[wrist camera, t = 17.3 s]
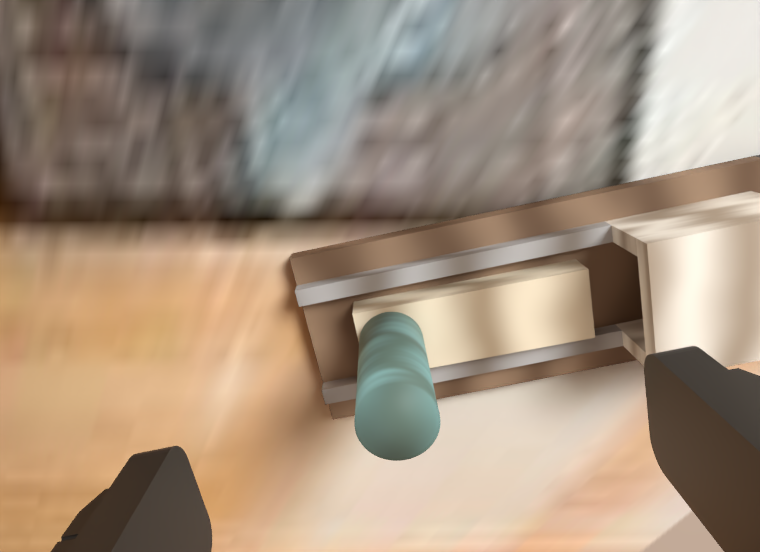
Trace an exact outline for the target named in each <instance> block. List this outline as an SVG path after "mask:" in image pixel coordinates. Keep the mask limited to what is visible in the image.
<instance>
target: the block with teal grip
mask: <svg viewBox="0 0 760 552" xmlns="http://www.w3.org/2000/svg"><path fill="white" fill-rule="evenodd" d="M352 315H353V319H354V324H355V328H356V333H357V337H358V341H359V354H358V371H357V388H356V406H355V431H356V434H357V437H358V439H359V441H360V442H361V444H362V445H363V446H364V447H365V448H366V449H367V450H368V451H369V452H371V453H372V454H374V455H376V456H378V457H380V458H383V459H387V460H406V459H411V458H413V457H416V456H418V455H420V454H422V453H423V452H425V451H426V450H427V449H428V448H429V447H430V446H431V445H432V444H433V442H434V441H435V439H436V437H437V436H438V433H439V429H440V415H439V410H438V405H437V401H436V396H435V391H434V386H433V382H432V377H431V372H430V368H434V367H439V366H444V365H450V364H455V363H461V362H466V361H472V360H477V359H482V358H488V357H493V356H499V355H504V354H509V353H515V352H520V351H526V350H531V349H536V348H542V347H547V346H553V345H558V344H563V343H569V342H574V341H580V340H585V339H590V338H595V330H594V320H593V310H592V299H591V289H590V279H589V269H588V268H586V267H585V266H584V265H583V264H581V263H580V262H579V261H578V260H576V259H575V260H569V261H564V262H559V263H554V264H548V265H543V266H538V267H533V268H528V269H522V270H517V271H512V272H507V273H502V274H496V275H491V276H486V277H481V278H475V279H470V280H465V281H460V282H455V283H449V284H444V285H439V286H434V287H428V288H423V289H418V290H413V291H408V292H402V293H397V294H392V295H387V296H381V297H376V298H371V299H366V300H361V301H355V302H353V313H352Z"/></svg>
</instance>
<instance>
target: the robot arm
mask: <svg viewBox="0 0 760 552" xmlns="http://www.w3.org/2000/svg"><path fill="white" fill-rule="evenodd" d="M644 374H645V386H646V397H647V408H648V420H649V431H650V439H651V444H652V448H653V451H654V454H655V457H656V459H657V462H658V464H659V466H660V468H661V470H662V471H663V473H664V474H665V476H666V477H667V479H668V480H669V481H670V482H671V484H672V485H673V486H674V488H675V489H676V490H677V491H678V493H679V494H680V495H681V497H682V498H683V499H684V500H685V502H686V503H687V504H688V506H689V507H690V508H691V509H692V511H693V512H694V513H695V515H696V516H697V517H698V518H699V520H700V521H701V522H702V524H703V525H704V526H705V527H706V529H707V530H708V531H709V533H710V534H711V535H712V536H713V538H714V539H715V540H716V542H717V543H718V544H719V546H720V547H721V548H722V549H723V551H724V552H760V376H758V375H755V374H752V373H750V372H747V371H744V370H741V369H739V368H737V369H732V370H728V369H727V368H725V367H724V366H723V365H721V364H720V363H719V362H717V361H716V360H715V359H713V358H712V357H711V356H710V355H708V354H707V353H706V352H704V351H703V350H702V349H700V348H699V347H697V346H689V347H684V348H679V349H674V350H669V351H664V352H658V353H653V354H649V355H647V356H646V358H645V362H644ZM61 538H62V541H61V542H57V544H56V545H55V547H54V548H53V549H52V551H51V552H211V548H212V529H211V523H210V519H209V516H208V513H207V510H206V508H205V505H204V502H203V499H202V496H201V494H200V491H199V488H198V485H197V482H196V480H195V477H194V474H193V471H192V469H191V466H190V463H189V460H188V458H187V455H186V453H185V452H184V450H183V449H182V448H181V447H179V446H173V447H168V448H163V449H158V450H152V451H147V452H142V453H137V454H134V455H133V456H131V457H130V459H129V460H128V461H127V463H126V464H125V466H124V467H123V469H122V470H121V472H120V473H119V475H118V476H117V478H116V479H115V481H114V482H113V484H112V485H111V487H110V488H109V489H105V490H104V491H103V492H102V493H101V494H99V495H98V496H97V497H96V498H95V499H94V500H93V501H91V502H90V503H89V504H88V505H87V506H86V507H84V508H83V509H82V510H81V511H80V512H79V513H78V514H77V516H76V517H75V519H74V520H73V521H72V523H71V524H70V526H69V527H68V528H67V530H66V531H65V533H64V534H63V535H62V537H61Z"/></svg>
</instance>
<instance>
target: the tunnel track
mask: <svg viewBox="0 0 760 552" xmlns="http://www.w3.org/2000/svg"><path fill="white" fill-rule="evenodd" d="M575 259H576V260H578V261H579V262H580V263H581V264H583V265H584V266H585V267H586V268H588V269H589V279H590V289H591V299H592V310H593V320H594V330H595V338H590V339H585V340H580V341H574V342H569V343H563V344H558V345H553V346H547V347H542V348H536V349H531V350H526V351H520V352H515V353H509V354H504V355H499V356H493V357H488V358H482V359H477V360H472V361H466V362H461V363H455V364H450V365H444V366H439V367H434V368H430V372H431V377H432V382H433V386H434V391H435V396H436V399H440V398H445V397H450V396H455V395H460V394H466V393H471V392H476V391H481V390H486V389H491V388H496V387H501V386H506V385H512V384H517V383H522V382H527V381H532V380H537V379H542V378H547V377H552V376H557V375H563V374H568V373H573V372H578V371H583V370H588V369H593V368H598V367H603V366H609V365H614V364H619V363H624V362H629V361H634V360H638V361H639V362H640V363H641V364H642V365H643V366H644V362H645V358H646V356H647V355H649V354H653V353H658V352H664V351H669V350H674V349H679V348H684V347H689V346H697V347H699V348H700V349H702V350H703V351H704V352H706V353H707V354H708V355H710V356H711V357H712V358H713V359H715V360H716V361H717V362H719V363H720V364H721V365H723V366H724V367H728V366H734V365H739V364H744V363H749V362H754V361H759V360H760V155H757V156H752V157H747V158H743V159H738V160H733V161H728V162H724V163H719V164H714V165H709V166H705V167H700V168H695V169H690V170H686V171H681V172H676V173H672V174H667V175H662V176H657V177H653V178H648V179H643V180H638V181H634V182H629V183H624V184H620V185H615V186H610V187H605V188H601V189H596V190H591V191H586V192H582V193H577V194H572V195H567V196H563V197H558V198H553V199H549V200H544V201H539V202H534V203H530V204H525V205H520V206H515V207H511V208H506V209H501V210H496V211H492V212H487V213H482V214H478V215H473V216H468V217H463V218H459V219H454V220H449V221H444V222H440V223H435V224H430V225H425V226H421V227H416V228H411V229H407V230H402V231H397V232H392V233H388V234H383V235H378V236H373V237H369V238H364V239H359V240H354V241H350V242H345V243H340V244H336V245H331V246H326V247H321V248H317V249H312V250H307V251H302V252H298V253H293V254H292V256H291V257H290V262H291V266H292V269H293V273H294V277H295V281H296V284H297V286H296V289H295V294H296V298H297V301H298V305H299V307H301V306H302V307H303V310H304V314H305V318H306V322H307V325H308V329H309V333H310V336H311V340H312V344H313V348H314V351H315V355H316V359H317V362H318V366H319V370H320V374H321V377H322V381H323V385H322V394H323V397H324V401H325V405H326V404H329V407H330V411H331V415H332V418H333V419H338V418H343V417H348V416H353V415H355V406H356V388H357V371H358V354H359V341H358V337H357V333H356V328H355V324H354V319H353V315H352V313H353V302H355V301H361V300H366V299H371V298H376V297H381V296H387V295H392V294H397V293H402V292H408V291H413V290H418V289H423V288H428V287H434V286H439V285H444V284H449V283H455V282H460V281H465V280H470V279H475V278H481V277H486V276H491V275H496V274H502V273H507V272H512V271H517V270H522V269H528V268H533V267H538V266H543V265H548V264H554V263H559V262H564V261H569V260H575Z"/></svg>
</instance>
